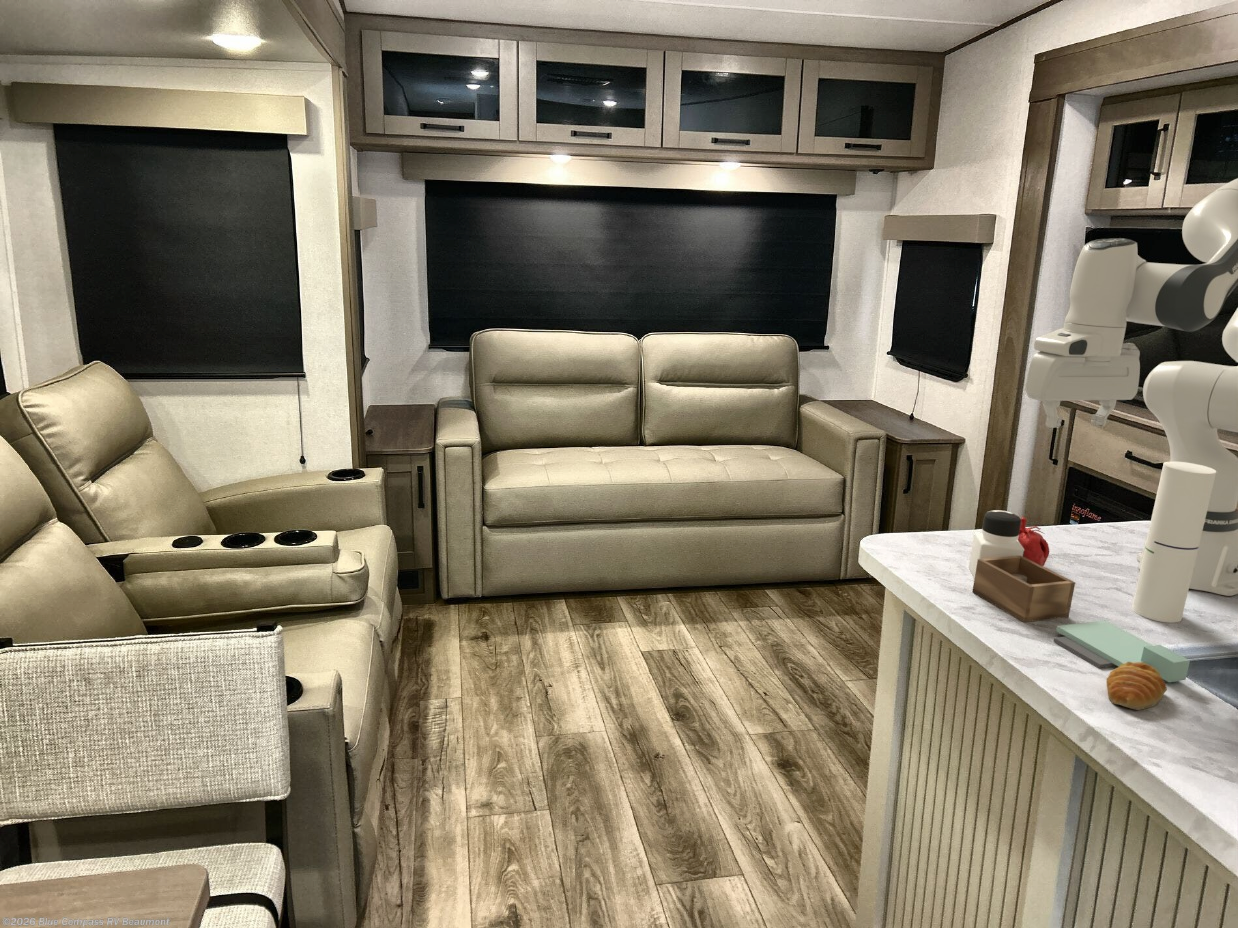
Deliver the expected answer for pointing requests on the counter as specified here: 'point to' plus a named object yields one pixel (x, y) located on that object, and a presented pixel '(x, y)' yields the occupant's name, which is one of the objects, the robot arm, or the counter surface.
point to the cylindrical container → (1173, 540)
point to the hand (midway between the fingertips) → (1075, 426)
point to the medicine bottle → (996, 538)
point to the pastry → (1135, 685)
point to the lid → (1126, 648)
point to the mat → (1083, 652)
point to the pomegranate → (1033, 544)
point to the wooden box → (1023, 588)
